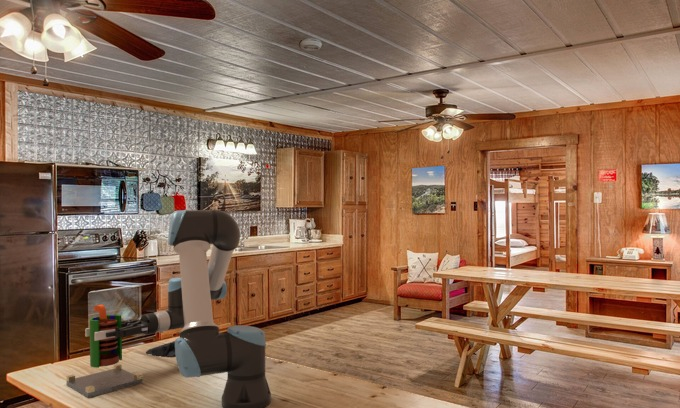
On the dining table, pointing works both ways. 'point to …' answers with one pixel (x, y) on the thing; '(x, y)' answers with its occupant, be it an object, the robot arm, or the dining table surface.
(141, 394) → the dining table surface
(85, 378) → the plate
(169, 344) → the dark slate chunk
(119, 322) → the motor
